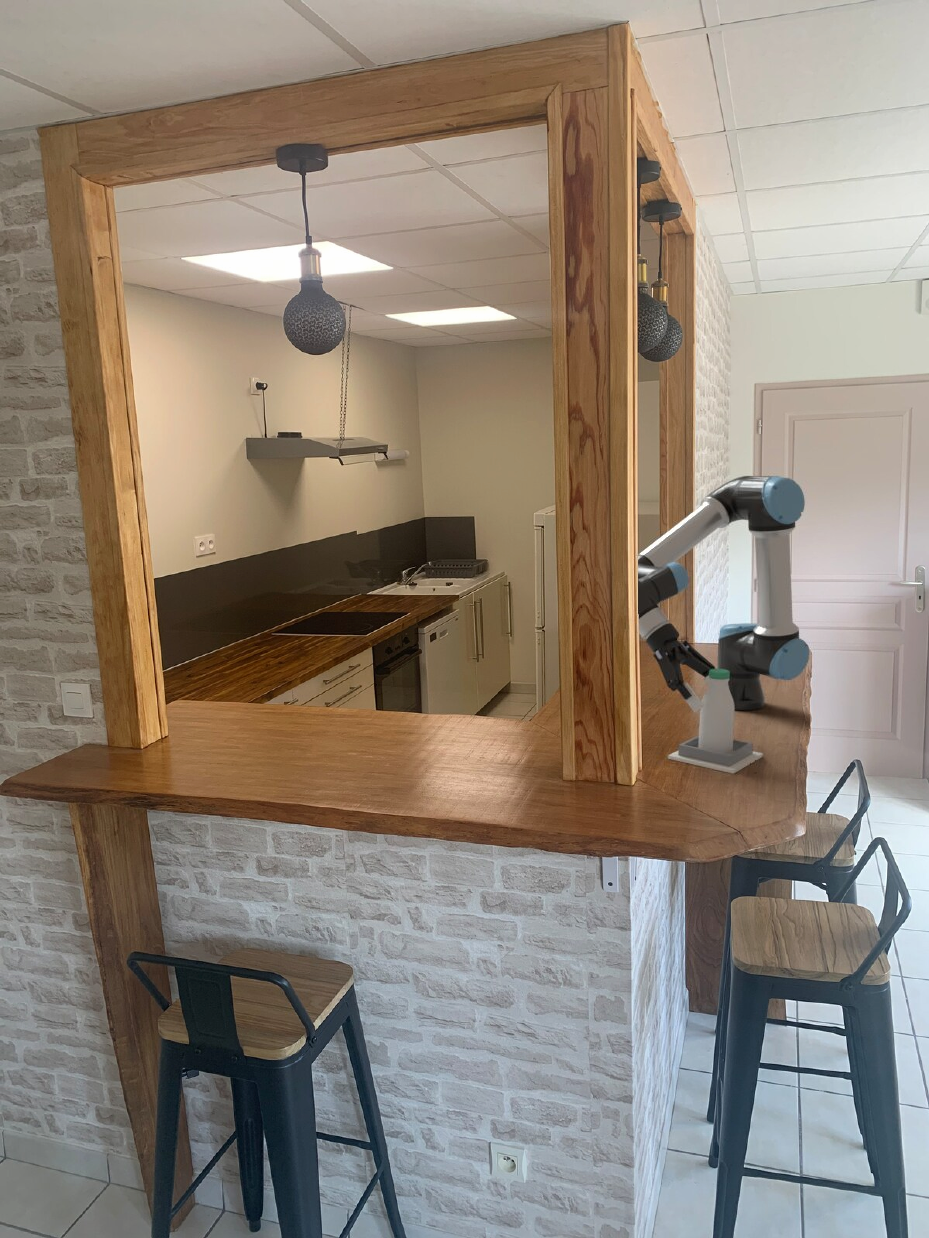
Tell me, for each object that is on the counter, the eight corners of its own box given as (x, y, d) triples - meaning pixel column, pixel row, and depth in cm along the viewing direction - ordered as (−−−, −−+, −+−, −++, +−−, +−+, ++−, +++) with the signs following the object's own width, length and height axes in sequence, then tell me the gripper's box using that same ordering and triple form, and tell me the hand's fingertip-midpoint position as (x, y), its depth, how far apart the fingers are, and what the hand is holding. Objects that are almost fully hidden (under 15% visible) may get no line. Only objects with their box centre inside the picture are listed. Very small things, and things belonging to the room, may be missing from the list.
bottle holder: (699, 743, 228) (699, 730, 227) (762, 756, 217) (763, 743, 217) (667, 758, 215) (668, 744, 215) (733, 773, 205) (734, 759, 205)
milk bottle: (733, 760, 212) (738, 674, 209) (698, 758, 213) (703, 673, 210) (730, 750, 219) (735, 667, 216) (697, 748, 221) (701, 665, 218)
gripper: (671, 633, 233) (724, 701, 226) (620, 648, 214) (676, 723, 208) (692, 615, 229) (746, 684, 222) (642, 628, 210) (700, 704, 203)
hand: (712, 703), depth 215 cm, fingers open, 13 cm apart
